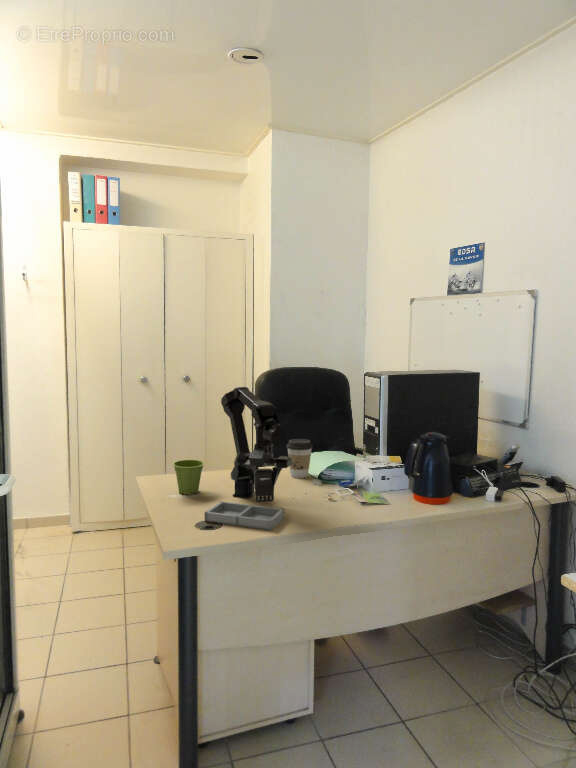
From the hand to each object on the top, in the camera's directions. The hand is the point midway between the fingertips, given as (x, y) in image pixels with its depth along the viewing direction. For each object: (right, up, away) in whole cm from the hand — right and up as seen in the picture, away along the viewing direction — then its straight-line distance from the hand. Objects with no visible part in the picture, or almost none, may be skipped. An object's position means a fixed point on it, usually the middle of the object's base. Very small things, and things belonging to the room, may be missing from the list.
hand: (263, 484), depth 188 cm
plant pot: (-29, -6, +17) cm, 35 cm away
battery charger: (0, -6, +1) cm, 6 cm away
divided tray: (-6, -9, -12) cm, 16 cm away
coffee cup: (+13, -4, +42) cm, 44 cm away
